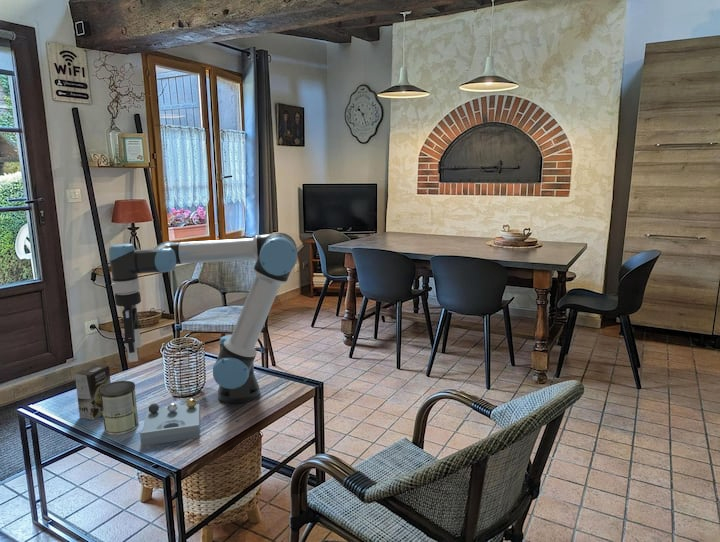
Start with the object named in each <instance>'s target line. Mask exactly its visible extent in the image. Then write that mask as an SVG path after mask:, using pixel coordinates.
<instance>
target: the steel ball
mask: <svg viewBox="0 0 720 542" xmlns="http://www.w3.org/2000/svg"><path fill="white" fill-rule="evenodd" d="M177 406H178V404H176V403H175V402H171V403H169V404H168V406H167V407H166V408H167V409H168V411H169V412H170V413H174V412H176V411H177V408H178V407H177Z"/></svg>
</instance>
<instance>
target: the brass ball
mask: <svg viewBox="0 0 720 542" xmlns="http://www.w3.org/2000/svg"><path fill="white" fill-rule="evenodd" d="M196 404H197V401H196V399H194V398H189V399H187V401H186V405H187V407H188V408H194V407H195V406H196Z"/></svg>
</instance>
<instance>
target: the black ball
mask: <svg viewBox="0 0 720 542" xmlns="http://www.w3.org/2000/svg"><path fill="white" fill-rule="evenodd" d="M159 409H160V407H159V405H158V403H151V404H149V407H148V410H149V412H150V413H156V412H157V411H158V410H159Z"/></svg>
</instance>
